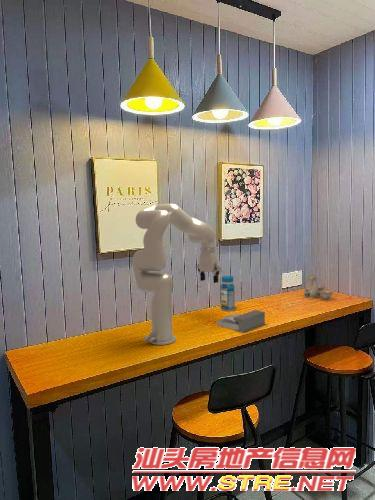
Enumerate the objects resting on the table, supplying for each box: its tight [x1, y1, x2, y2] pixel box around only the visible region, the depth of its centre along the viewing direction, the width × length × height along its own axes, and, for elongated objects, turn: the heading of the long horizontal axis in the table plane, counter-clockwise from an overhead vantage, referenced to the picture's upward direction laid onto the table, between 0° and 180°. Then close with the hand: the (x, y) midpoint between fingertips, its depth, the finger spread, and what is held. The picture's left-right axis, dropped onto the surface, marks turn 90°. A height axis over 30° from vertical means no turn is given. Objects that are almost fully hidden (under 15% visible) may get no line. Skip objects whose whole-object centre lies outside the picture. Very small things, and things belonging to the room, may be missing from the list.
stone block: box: [220, 313, 240, 325], centre depth 196 cm, size 12×5×10 cm
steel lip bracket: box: [216, 309, 266, 333], centre depth 191 cm, size 18×18×6 cm
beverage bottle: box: [220, 275, 236, 312], centre depth 222 cm, size 8×8×20 cm
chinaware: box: [303, 272, 334, 301], centre depth 247 cm, size 28×17×17 cm, turn 1°
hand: (209, 281), depth 203 cm, fingers open, 9 cm apart
